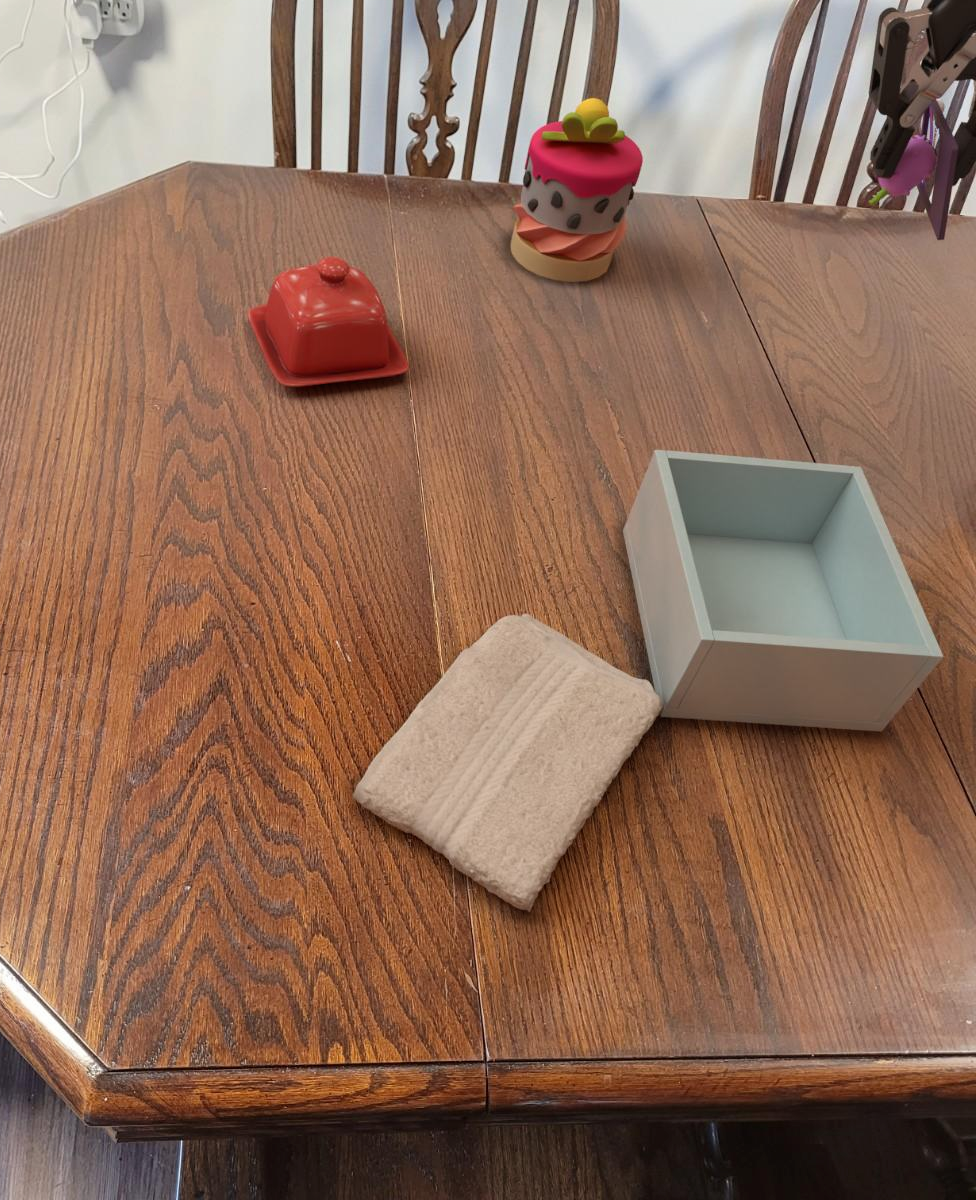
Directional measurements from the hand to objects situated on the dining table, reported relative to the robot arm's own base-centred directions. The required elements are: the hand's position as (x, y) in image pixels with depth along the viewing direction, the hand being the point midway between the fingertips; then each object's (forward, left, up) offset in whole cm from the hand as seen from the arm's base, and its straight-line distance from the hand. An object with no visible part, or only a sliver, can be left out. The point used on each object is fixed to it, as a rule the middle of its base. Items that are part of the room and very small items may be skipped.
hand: (913, 175), depth 75 cm
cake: (+19, -20, -20) cm, 34 cm away
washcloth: (+28, +38, -20) cm, 51 cm away
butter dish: (+41, -1, -20) cm, 46 cm away
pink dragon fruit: (0, 0, -2) cm, 2 cm away
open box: (+11, +26, -20) cm, 35 cm away
